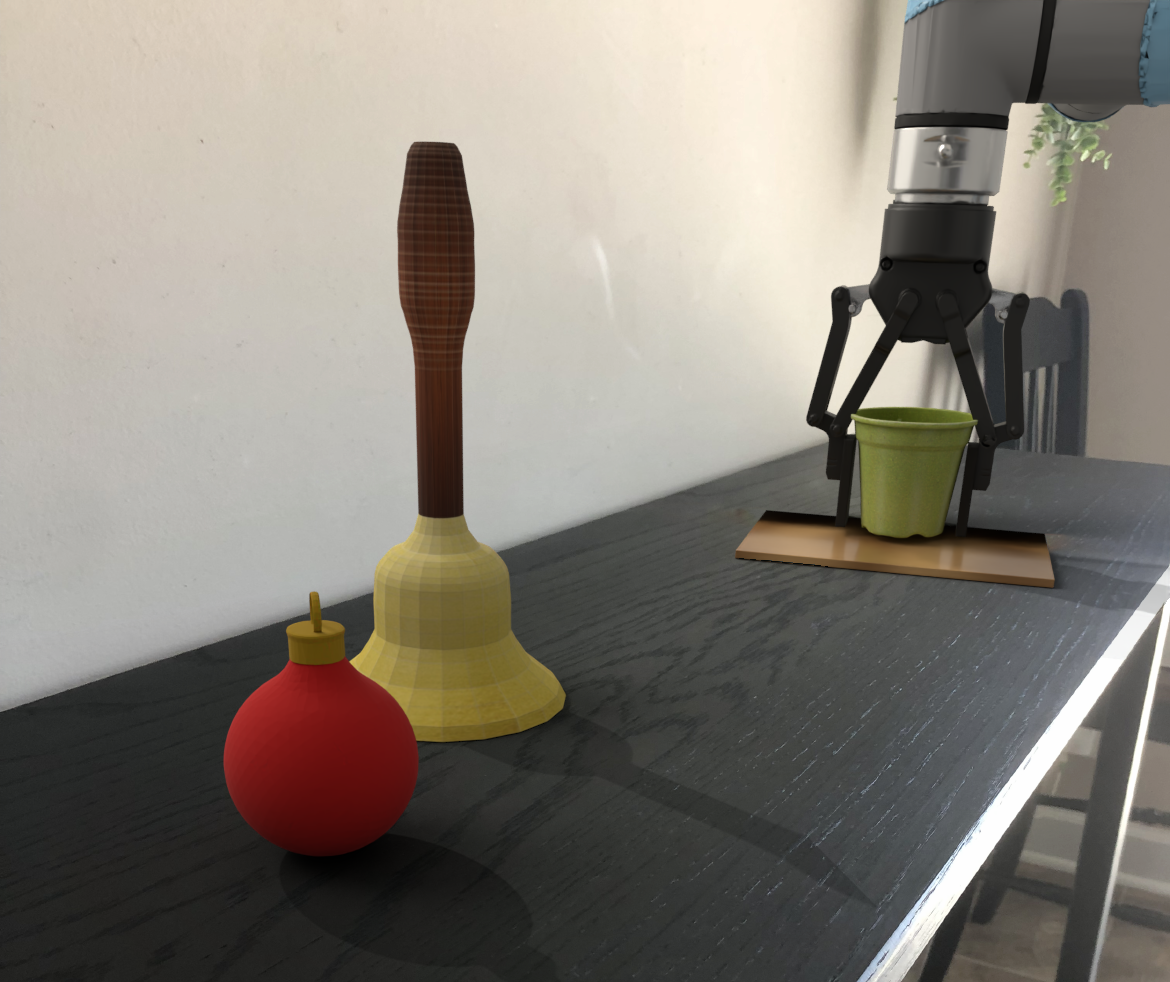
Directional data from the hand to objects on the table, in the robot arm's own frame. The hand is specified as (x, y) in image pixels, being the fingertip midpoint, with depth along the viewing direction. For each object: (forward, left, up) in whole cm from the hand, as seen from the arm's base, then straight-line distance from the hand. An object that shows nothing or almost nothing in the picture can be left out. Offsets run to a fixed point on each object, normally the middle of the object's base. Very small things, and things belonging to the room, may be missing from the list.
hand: (900, 527), depth 96 cm
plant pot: (0, 0, 0) cm, 0 cm away
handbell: (+20, +43, -1) cm, 47 cm away
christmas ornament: (+18, +60, -1) cm, 63 cm away
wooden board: (0, 0, -1) cm, 1 cm away
